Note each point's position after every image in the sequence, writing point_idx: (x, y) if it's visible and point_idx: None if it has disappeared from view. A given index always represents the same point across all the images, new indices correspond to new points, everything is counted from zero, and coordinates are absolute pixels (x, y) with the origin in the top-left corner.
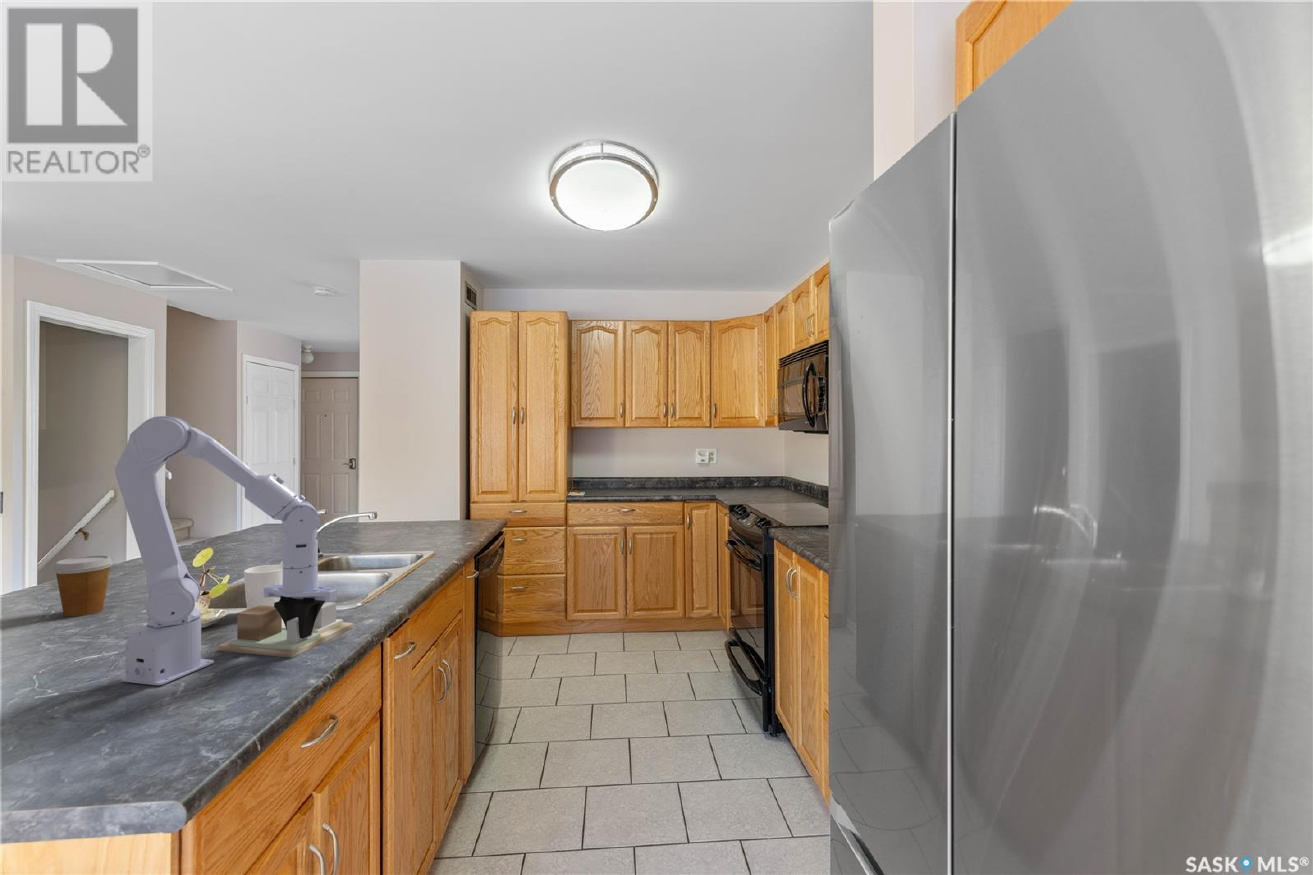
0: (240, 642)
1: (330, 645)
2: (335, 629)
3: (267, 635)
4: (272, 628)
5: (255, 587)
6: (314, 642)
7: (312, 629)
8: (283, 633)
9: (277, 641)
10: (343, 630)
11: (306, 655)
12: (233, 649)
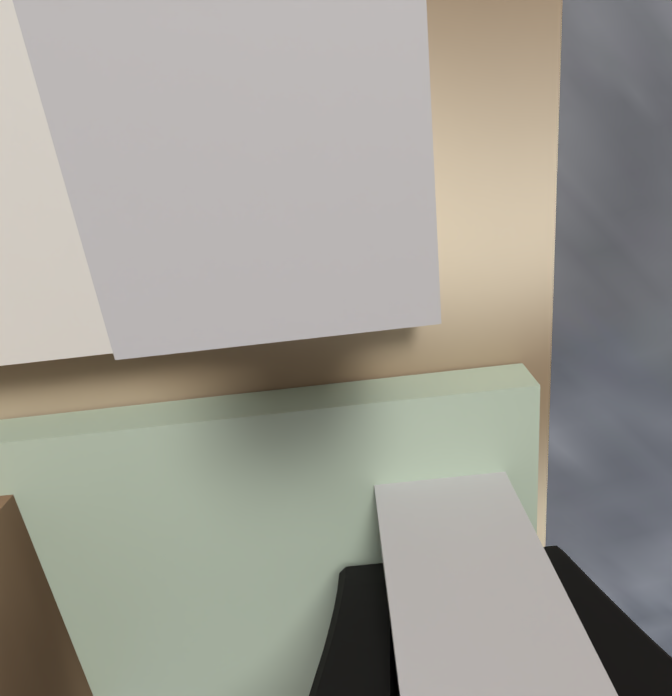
0: None
1: (665, 354)
2: (483, 30)
3: (62, 672)
4: (9, 678)
5: None
6: (544, 460)
7: (601, 594)
8: (90, 521)
9: (279, 679)
10: None
11: (607, 582)
12: None
